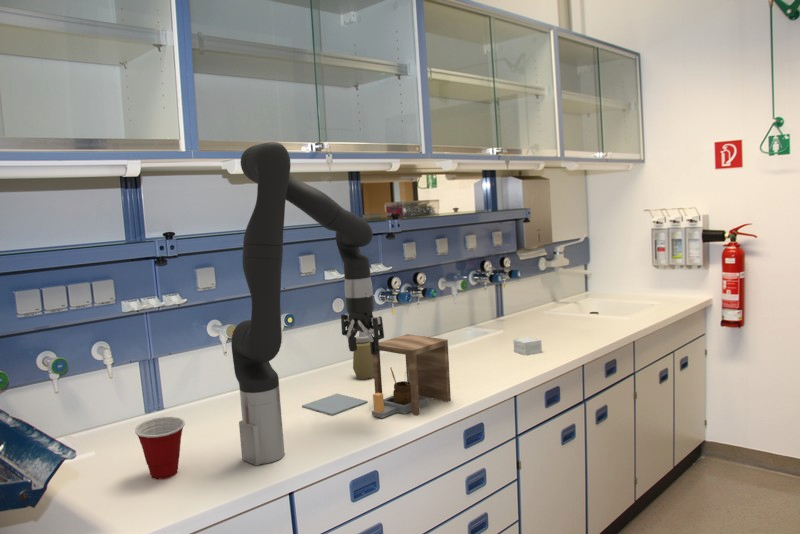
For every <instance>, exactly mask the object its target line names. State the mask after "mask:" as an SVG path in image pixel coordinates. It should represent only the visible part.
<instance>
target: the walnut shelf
mask: <svg viewBox="0 0 800 534" xmlns="http://www.w3.org/2000/svg"><path fill="white" fill-rule="evenodd" d="M378 342H379V353H378V354H377V355H373V368H374V377H373V382H374V394H376V393H382V394H383V385H382V383H383V382H382V370H381V369H382V368H381V367H382V366H381V351H382V352H387V353H393V354H399V355H405V368H406V370H405V373H406V372H407V373H406V381H408V382H410V386H411V403H412V411H411V415H412V414H413V416H418V414H419V415H420V414H421V411H420V408H419V396H423V397H426V398H427V399H431V398H433V400H436V399H437V400H436V401H440V400H442V402H445V401H447V402H446V403H449V402H451V400H452V399H451V394H452V393H451V380H450V379H451V378H450V377H451V376H450V359H449V358H450V357H449V341H448V339H446V338H441V337H440V338H438V337H433V336H432V337H431V336H423V335H415V334H410V333H409V334H403V335H400V336H396V337H393V338H390V339H386V340H381V341H378ZM408 373H409V376H408ZM448 401H449V402H448Z"/></svg>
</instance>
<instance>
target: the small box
mask: <svg viewBox="0 0 800 534" xmlns="http://www.w3.org/2000/svg"><path fill="white" fill-rule="evenodd" d="M513 352H514V353H516V354H518V355H522V356H525V355H527V356H532V355H537V354H538V355H539V354H542V352H543V349H542V339H538V338H536V337H535V338H534V337H531V336H526V337H520V338H515V339H513ZM531 354H532V355H531Z"/></svg>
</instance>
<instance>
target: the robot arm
mask: <svg viewBox="0 0 800 534" xmlns="http://www.w3.org/2000/svg"><path fill="white" fill-rule="evenodd" d="M291 167H292V166H291V158H290V154H289V152H288V150H287V148H286V146H284V145H283V144H282V143H279V142H278V141H269V142H268V141H267V142H263V143H258V144H255V145H251V146H250V147H248V148H246V149H245V150H244V151H243V153H242V154H241V157H240V168H241V170H242V172H243V175H245V176H246V178H247V179H248V180H251V182H254V183H255V184H257V189H256V202H255V205H254V208H253V211H252V214H251V216H250V218H249V220H248V223H247V226H246V228H245V231H244V236H243V243H242V244H243V245H242V256H241V257H242V261H241V262H242V270H243V273H244V277H245V280H246V284H247V288H248V290H249V294H250V299H251V316H250V319H247V320H243V321H241V322H239V323H238V324H237V325H236V326H235V328H234V329H233V331H232V335H231V342H230V343H231V344H230V345H231V346H230V347H231V355H232V362H233V369H234V371H233V372H234V374H235V375H234V376H235V378H236V380H237V382H238V385H239V395H240V396H239V397H240V408H241V420H240V421H239V422H238V427H239V437H240V438H239V439H240V451H241V459H242V461H245V462H247V463H248V464H249V463H250V464H251V465H254V466H259V465H262V464H270V463H274V462H276V461H279V460H280V459H282V458H283V457H284V456H285V444H284V442H285V441H284V431H283V429H284V428H283V417H282V406H281V394H280V391H281V390H280V380H279V374H278V372H277V371H276V370H274V368H273V367H272V365H271V363H270V362H271V361H272V360H273V359H275V358H276V357H277V356H278V353H279V352H280V349H281V346H282V338H283V337H282V336H283V333H282V332H283V331H282V316H281V291H282V286H281V285H282V268H283V257H284V256H283V251H284V230H285V228H284V227H285V212H286V210H285V209H286V202H289V203H291V204H292V205H293V206H295V207H296V208H298V209H299V210H301V211H302V212H303V213H304V214H305V215H307V216H309V217H310V218H311V219H312V220H313V221H315V222H316V223H318V224H319V225H320V226H322V227H323V228H325V229H326V230H328V231H331V232H332V231H333V232H335V242H336V246H337V250H338V252H339V255H340V258H341V261H342V264H343V274H344V297H345V299H344V300H345V308H346V310H345V311H346V313H343V314H341V315H340V322H341V325H340V326H341V335H342V336H345V337H346V338H347V343H348V349H349V352H352V353H354V351H356V350H357V342H356V337H357V334H358V332H360V331H361V332H364V333H365V335H366V336H368V337H369V339H370V341H369V342H370V348H371V355H377V354H378V353H379V342H380V340H381V339H385V332H384V324H383V318H382V316H376V317H375V316H374V314H373V312H374V310H375V303H374V302H375V301H374V292H373V291H374V290H373V283H372V278H371V265H370V260H369V258H368V256H366V255H364V254H363V253H362V252H361V250H360V248H363V247H366V246H368V245H369V244H371V242H372V240H373V234H374V233H373V229H372V228H371V226H370V224H369V223H368V222H367V221H366V220H365V219H363V218H362V217H360V216H359V215H357V214H355V213H353V212H351V211H349V210H347V209H345V208H343V207H342V206H341V205H340V204H339V203H337V202H336V201H335V200H334V199H333V198H331V197H330V196H328V195H327V194H326V193H325V192H323V191H321V190H320V189H318V188H316V187H314V186H311V185H309V184H307V183H305V182H303V181H302V180H299V179H297V178H296V177H295V176H293V175H292V174H291Z"/></svg>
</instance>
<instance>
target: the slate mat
mask: <svg viewBox="0 0 800 534" xmlns="http://www.w3.org/2000/svg"><path fill="white" fill-rule="evenodd" d="M368 403H369V401H368V400H365V399H360V398H357V397H354V396H348V395H345V394H341V393H334V394H332V395H328V396H326V397H322V398H320V399H317V400H314V401H311V402H308V403H305V404H302V405H301V407H302V408H304V409H307V410H311V411H315V412H318V413H320V414H325V415H327V416H332V417H333V416H335V415H338V414H341V413H344V412H346V411H348V410H352V409H355V408H357V407H360V406H362V405H366V404H368Z"/></svg>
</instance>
